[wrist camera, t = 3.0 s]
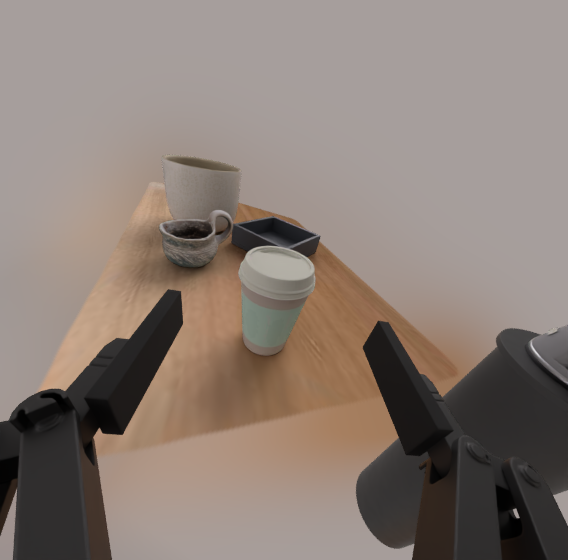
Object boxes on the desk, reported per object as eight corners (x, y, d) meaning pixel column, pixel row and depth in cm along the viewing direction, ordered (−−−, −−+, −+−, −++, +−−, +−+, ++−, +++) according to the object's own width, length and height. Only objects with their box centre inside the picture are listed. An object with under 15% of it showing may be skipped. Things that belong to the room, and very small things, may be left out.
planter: (160, 216, 57) (153, 151, 49) (221, 215, 67) (223, 161, 59) (179, 242, 47) (173, 165, 39) (247, 237, 57) (254, 175, 49)
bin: (315, 252, 57) (320, 235, 55) (282, 270, 46) (286, 250, 43) (270, 231, 64) (273, 216, 61) (231, 243, 52) (232, 223, 49)
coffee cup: (305, 336, 31) (331, 264, 25) (271, 379, 24) (295, 295, 18) (258, 308, 34) (271, 238, 28) (217, 339, 27) (221, 256, 21)
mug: (155, 254, 41) (148, 201, 36) (216, 245, 49) (217, 201, 44) (175, 280, 36) (170, 222, 30) (239, 265, 44) (243, 217, 39)
